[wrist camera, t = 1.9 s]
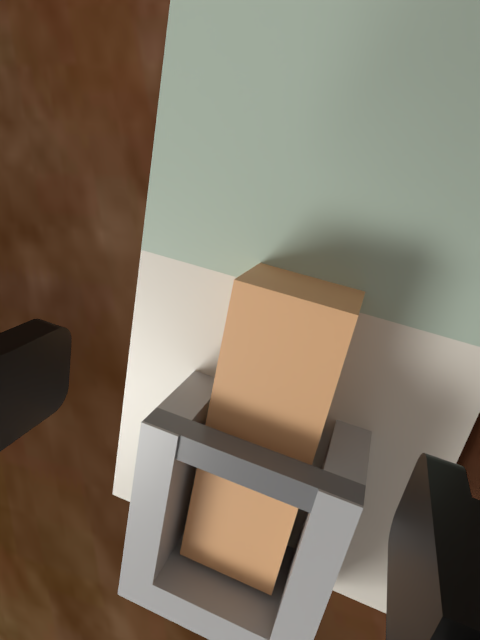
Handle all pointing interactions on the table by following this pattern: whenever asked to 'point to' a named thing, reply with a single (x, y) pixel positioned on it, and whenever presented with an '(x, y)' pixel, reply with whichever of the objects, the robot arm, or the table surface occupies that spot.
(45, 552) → the table surface
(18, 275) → the table surface
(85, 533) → the table surface
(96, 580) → the table surface
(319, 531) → the two-tone mat
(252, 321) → the tan wooden plank
